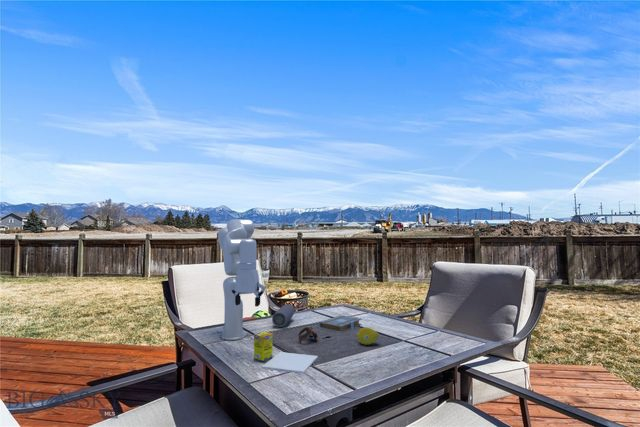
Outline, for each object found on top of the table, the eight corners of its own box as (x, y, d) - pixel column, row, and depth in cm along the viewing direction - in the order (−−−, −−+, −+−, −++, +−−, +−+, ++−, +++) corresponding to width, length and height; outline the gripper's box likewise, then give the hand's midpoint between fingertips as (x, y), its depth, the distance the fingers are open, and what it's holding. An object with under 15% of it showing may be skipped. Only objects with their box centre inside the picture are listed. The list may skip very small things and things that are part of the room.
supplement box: (263, 362, 146) (264, 336, 147) (253, 360, 150) (253, 334, 150) (273, 358, 151) (273, 333, 152) (262, 356, 155) (262, 331, 155)
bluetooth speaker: (280, 319, 221) (280, 303, 222) (295, 319, 220) (295, 303, 220) (270, 329, 199) (271, 311, 199) (286, 329, 197) (286, 311, 198)
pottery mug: (319, 345, 170) (311, 332, 169) (302, 353, 172) (294, 339, 170) (320, 332, 182) (313, 319, 181) (305, 339, 183) (297, 327, 182)
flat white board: (262, 368, 141) (262, 366, 141) (280, 353, 158) (280, 352, 158) (303, 373, 135) (303, 371, 135) (317, 357, 152) (317, 355, 152)
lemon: (354, 345, 169) (353, 328, 170) (360, 340, 176) (359, 324, 176) (375, 348, 164) (375, 331, 164) (380, 343, 171) (380, 327, 171)
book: (339, 321, 216) (339, 313, 216) (362, 326, 206) (362, 317, 206) (318, 329, 199) (318, 320, 200) (341, 334, 189) (341, 324, 189)
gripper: (226, 267, 155) (226, 306, 154) (261, 268, 150) (261, 308, 149) (235, 265, 162) (234, 302, 161) (268, 266, 157) (268, 304, 156)
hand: (247, 305), depth 155 cm, fingers open, 9 cm apart
